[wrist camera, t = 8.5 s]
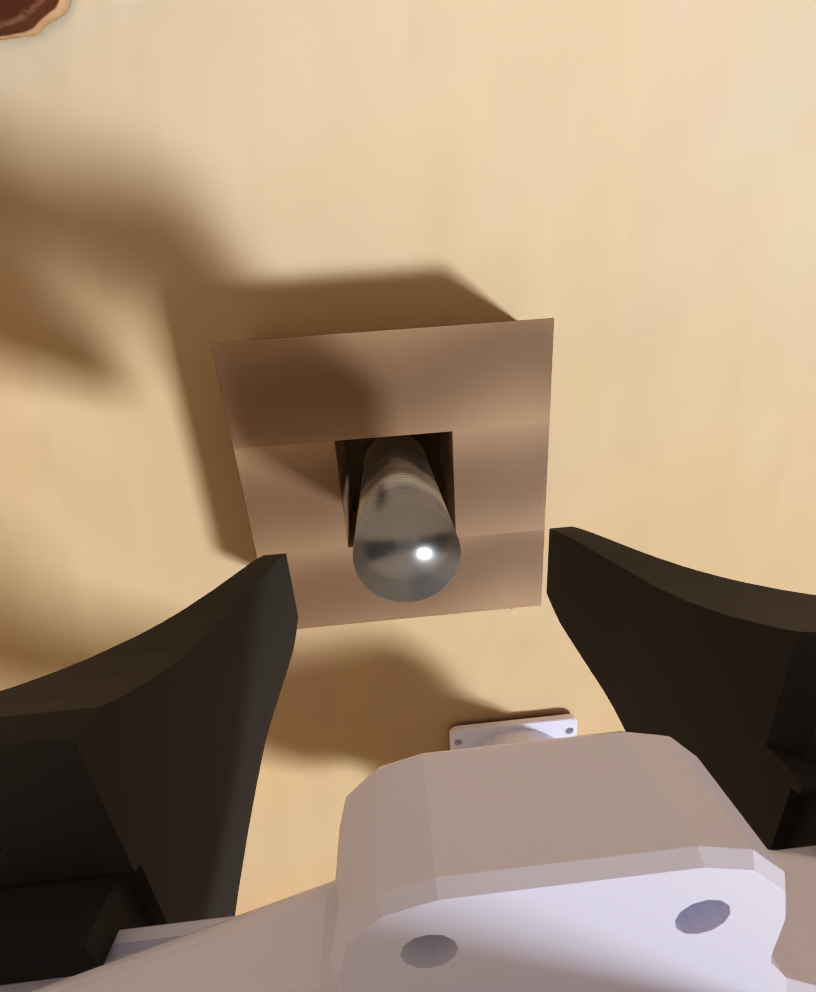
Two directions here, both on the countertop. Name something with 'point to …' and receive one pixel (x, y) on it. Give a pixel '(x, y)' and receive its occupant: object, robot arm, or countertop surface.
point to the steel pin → (403, 524)
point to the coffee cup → (29, 16)
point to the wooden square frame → (394, 412)
